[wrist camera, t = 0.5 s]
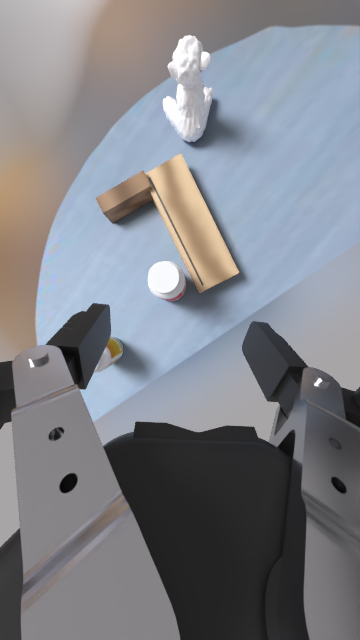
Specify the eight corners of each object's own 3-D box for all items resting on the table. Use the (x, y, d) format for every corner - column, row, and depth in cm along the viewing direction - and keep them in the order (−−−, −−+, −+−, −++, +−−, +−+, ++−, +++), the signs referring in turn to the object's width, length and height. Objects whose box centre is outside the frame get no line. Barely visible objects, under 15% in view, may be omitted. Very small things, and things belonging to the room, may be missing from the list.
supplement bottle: (103, 333, 39) (75, 341, 30) (127, 341, 39) (106, 352, 29) (96, 356, 40) (66, 371, 30) (119, 364, 39) (96, 383, 30)
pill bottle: (188, 298, 38) (187, 294, 27) (159, 303, 38) (146, 301, 27) (183, 268, 37) (180, 252, 26) (154, 273, 38) (139, 259, 27)
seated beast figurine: (211, 95, 35) (222, -15, 23) (218, 142, 36) (232, 57, 24) (163, 107, 36) (149, 6, 24) (170, 153, 36) (160, 76, 24)
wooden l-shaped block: (181, 166, 36) (180, 148, 32) (235, 275, 37) (240, 271, 33) (105, 209, 37) (95, 198, 34) (158, 314, 38) (155, 315, 34)
